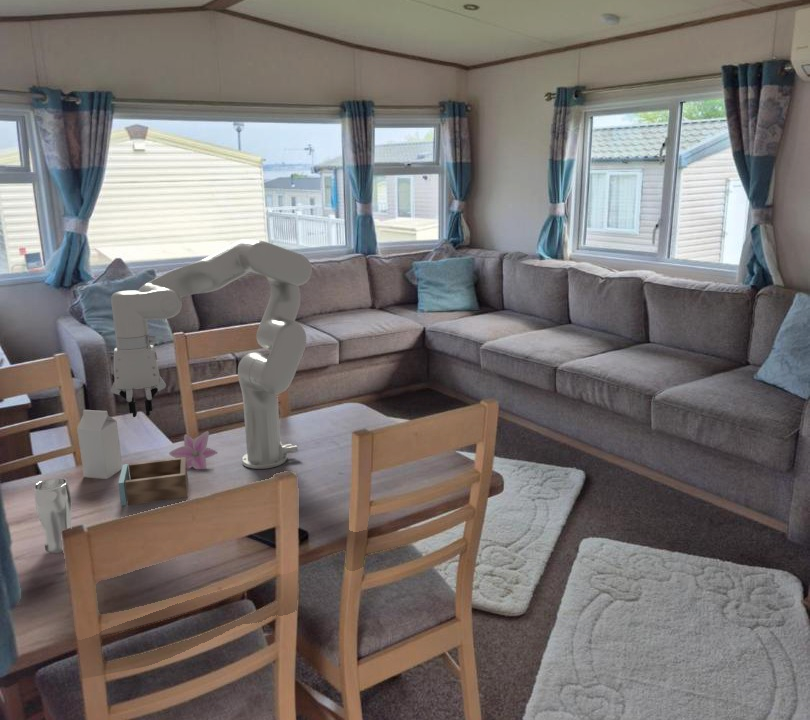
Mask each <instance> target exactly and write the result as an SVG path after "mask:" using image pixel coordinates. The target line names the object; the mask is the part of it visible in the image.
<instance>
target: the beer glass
mask: <svg viewBox="0 0 810 720" xmlns="http://www.w3.org/2000/svg"><path fill="white" fill-rule="evenodd" d="M33 491H34V493H33V494H34V495H33V496H34V505H35V510H36V512H37V513H36V514H37V517H38V518H39V521H40V524H41V527H42V529H43V532H44V536H45V543H44V550H45V551H46V553H49V554H50V553H51V554H59V553H63V550H62V540H61V531H62V530H63V529H67V528H70V527H71V528H72V514H73V503H72V496H71V490H70V487H69V483H68V479H66V478H65V477H50V478H45V479H42V480H40V481H38V482H37V483H35V484H34V486H33Z"/></svg>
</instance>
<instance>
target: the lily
mask: <svg viewBox="0 0 810 720" xmlns="http://www.w3.org/2000/svg"><path fill="white" fill-rule="evenodd" d="M209 436H210V432H209V431H208V430H207V431H205V432H202V433H201V434H200V435H198V436H197V437H196V438H195V439H193V438H192V437H191V436H190V435H189V434H187V433H184V437H183V443H184V444H183V446H180V447H177V448H174V449H173V450H171V451H170V452H169V453H168V454H169V455H170V456H171V457H173V458H180V457H186V466H187V469H191V468H194V469H195V470H206V469H207V460H206V459H208V458H210V457H213V456H215V455H217V454H218V451H216V450H214V449H213V448H210V447H207V446H208V440H209Z"/></svg>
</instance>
